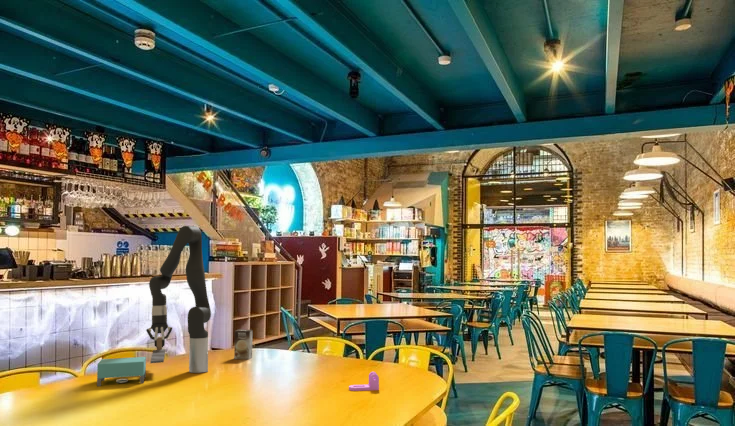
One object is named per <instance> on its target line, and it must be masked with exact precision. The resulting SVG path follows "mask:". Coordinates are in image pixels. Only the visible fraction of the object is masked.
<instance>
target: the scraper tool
mask: <svg viewBox="0 0 735 426" xmlns="http://www.w3.org/2000/svg"><path fill="white" fill-rule="evenodd" d="M151 353H152V354H151V357H150V364H159V363H160V364H162V363H164V361H165V356H166V349H165V348H164V349H163V347H162V335H161V336H159V335H158V336H157V347H156V349H154V350H152V352H151Z"/></svg>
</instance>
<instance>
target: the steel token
mask: <svg viewBox="0 0 735 426" xmlns="http://www.w3.org/2000/svg"><path fill="white" fill-rule="evenodd" d="M115 381H116V383H117V384H125V383H128V381H129V379H128V378H120V379H116V380H115Z"/></svg>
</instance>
